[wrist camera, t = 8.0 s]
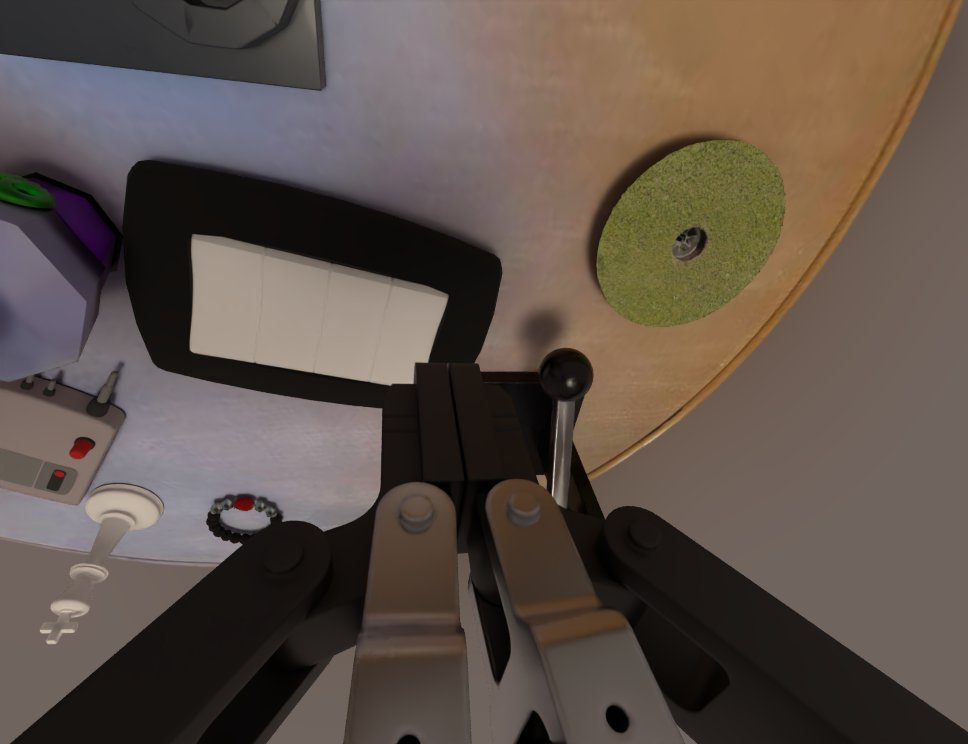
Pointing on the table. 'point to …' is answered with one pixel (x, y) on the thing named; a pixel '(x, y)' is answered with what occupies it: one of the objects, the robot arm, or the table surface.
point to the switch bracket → (545, 434)
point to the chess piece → (102, 548)
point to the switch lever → (563, 412)
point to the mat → (691, 233)
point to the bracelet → (243, 505)
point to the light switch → (295, 286)
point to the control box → (175, 37)
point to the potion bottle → (49, 272)
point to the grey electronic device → (54, 437)
